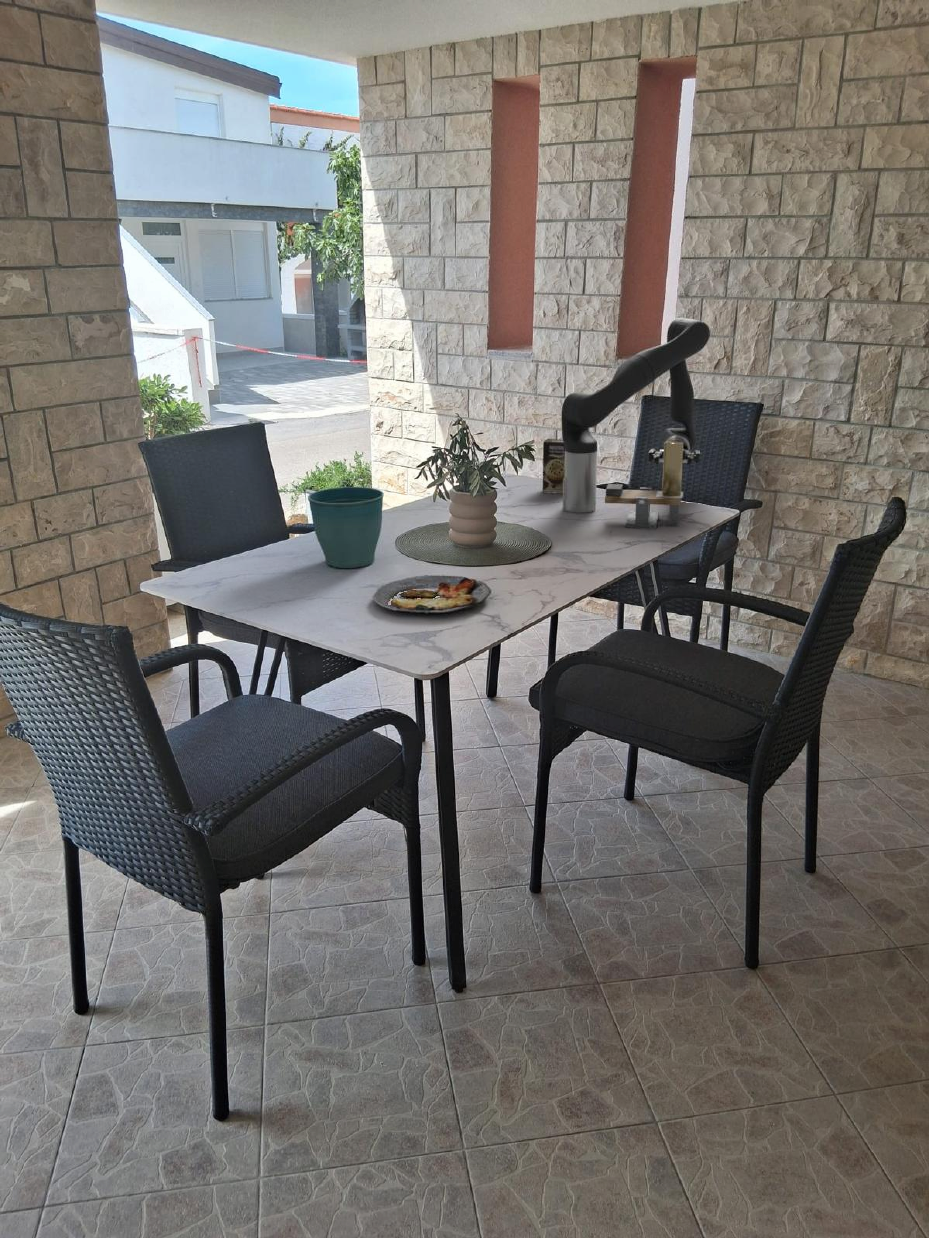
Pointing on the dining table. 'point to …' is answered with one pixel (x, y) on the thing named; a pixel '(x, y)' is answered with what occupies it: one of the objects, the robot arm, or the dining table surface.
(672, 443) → the block
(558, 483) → the cookie box
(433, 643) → the dining table surface
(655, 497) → the beam
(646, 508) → the beam stand
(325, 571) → the dining table surface
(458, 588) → the food plate
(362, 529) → the flower pot
